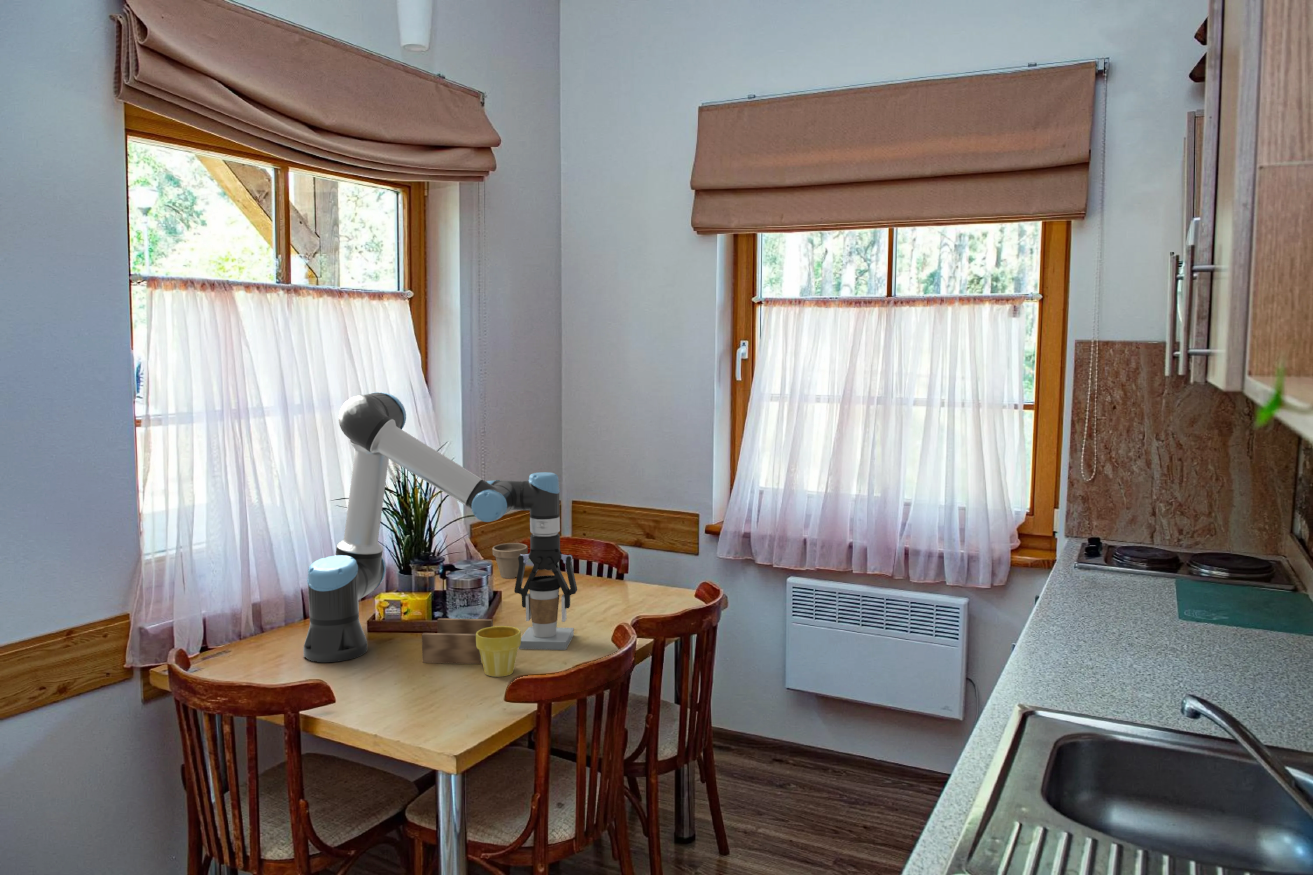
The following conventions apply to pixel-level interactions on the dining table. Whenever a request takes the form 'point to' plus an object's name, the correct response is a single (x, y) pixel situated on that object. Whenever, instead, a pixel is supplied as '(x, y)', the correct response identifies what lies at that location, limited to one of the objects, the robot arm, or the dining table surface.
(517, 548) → the flower pot
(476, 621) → the rack
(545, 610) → the coffee cup
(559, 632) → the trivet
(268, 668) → the dining table surface
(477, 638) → the plant pot
